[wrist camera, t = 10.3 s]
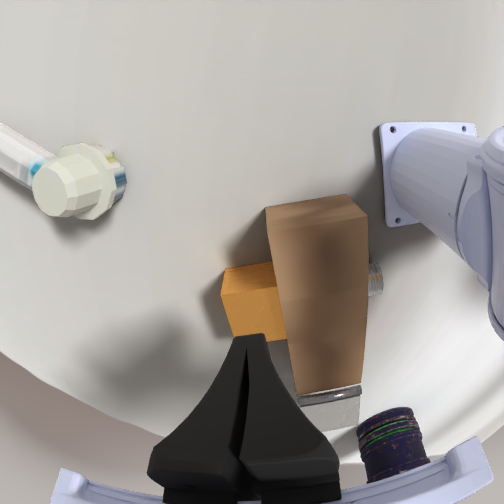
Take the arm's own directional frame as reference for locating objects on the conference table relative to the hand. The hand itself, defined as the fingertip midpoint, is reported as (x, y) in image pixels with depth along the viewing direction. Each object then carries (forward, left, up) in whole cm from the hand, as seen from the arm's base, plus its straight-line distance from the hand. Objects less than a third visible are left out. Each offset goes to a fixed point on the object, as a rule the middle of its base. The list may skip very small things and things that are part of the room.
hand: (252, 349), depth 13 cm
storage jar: (-14, +34, -11) cm, 38 cm away
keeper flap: (-4, +16, -5) cm, 17 cm away
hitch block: (-4, +5, -10) cm, 12 cm away
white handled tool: (+18, -15, -11) cm, 26 cm away
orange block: (-3, +4, -10) cm, 12 cm away
